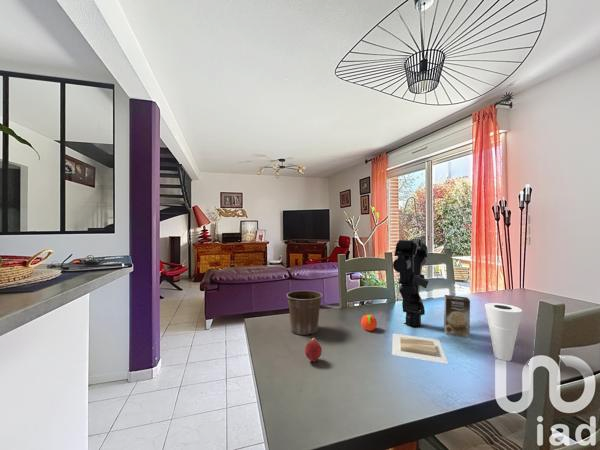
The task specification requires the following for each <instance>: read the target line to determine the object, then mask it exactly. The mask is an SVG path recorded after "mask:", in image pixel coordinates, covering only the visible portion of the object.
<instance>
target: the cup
mask: <svg viewBox="0 0 600 450" xmlns="http://www.w3.org/2000/svg"><path fill="white" fill-rule="evenodd" d="M484 308H485V309H484V310H485V315H486V320H487V324H488V329H489V333H490V339H491V344H492V345H491V346H492V349H493V355H494V357H495V358H496V359H498V360H500V361H505V362H510V361H512V359H513V354H514V349H515V343H516V340H517V335H518V330H519V326H520V323H521V322H520V321H521V317H522V314H523V313H522V312H523V310H522V309H521V308H520V307H517V306H515V305H511V304H507V303H501V302H486V303H485V304H484Z"/></svg>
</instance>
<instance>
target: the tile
mask: <svg viewBox="0 0 600 450" xmlns="http://www.w3.org/2000/svg"><path fill="white" fill-rule="evenodd" d="M400 346H401V351H405V352H411V353H418V354H424V355H431V356H437V352H436V349H435V345H434V342H433V341H426V340H419V339H412V338H404V337H400Z"/></svg>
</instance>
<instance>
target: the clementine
mask: <svg viewBox="0 0 600 450" xmlns="http://www.w3.org/2000/svg"><path fill="white" fill-rule="evenodd" d="M360 322H361V326H362V328H363V329H364V330H365V331H368V332H372V331H374V330H375V329H376V328H377V327H378V326H377V325H378V321H377V318H376V317H374V315H372V314H365V315H363V316H362V318H361V320H360Z"/></svg>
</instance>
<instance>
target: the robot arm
mask: <svg viewBox="0 0 600 450" xmlns="http://www.w3.org/2000/svg"><path fill="white" fill-rule="evenodd" d="M393 256H395V257H397V258H395V259H394V261H393V263H392V268H393V269H394V271H395V272H396V273H399V278H398V285H399V286H398V288H399V289H398V290H399V291H398V292H399V293H400V295H401V298H402V303H401V306H402V313H405V322H403V324H404V325H405V326H408V327H410V328H413V329H417V328H422V327H424V324H422V316H425V314H426V311H425V305H424V302H423V299H422V297H421V295H420V288H421V287H422V288H423V289H426V288H427V286H428V284H429V279H427V278H425V275H424V274H423V273H422V270H423V266H424V265H425V263H427V261H428V260H427V258H429V250H428V246H427V245H426V244H425V243H423V239H421V238H410V239H408V240H407V239H398V241H397V242H396V245H395V249H394V255H393Z"/></svg>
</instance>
